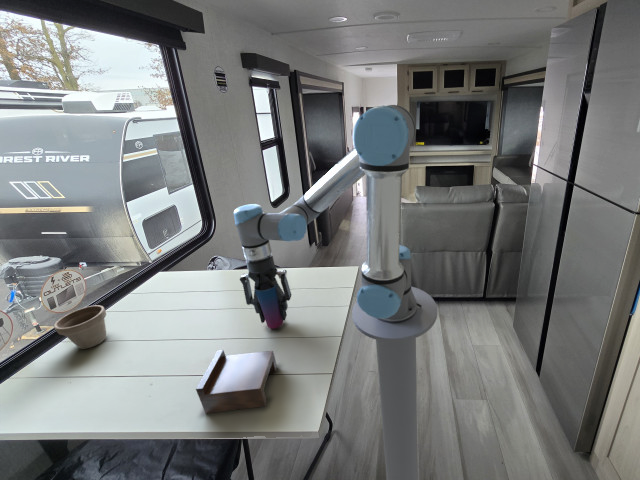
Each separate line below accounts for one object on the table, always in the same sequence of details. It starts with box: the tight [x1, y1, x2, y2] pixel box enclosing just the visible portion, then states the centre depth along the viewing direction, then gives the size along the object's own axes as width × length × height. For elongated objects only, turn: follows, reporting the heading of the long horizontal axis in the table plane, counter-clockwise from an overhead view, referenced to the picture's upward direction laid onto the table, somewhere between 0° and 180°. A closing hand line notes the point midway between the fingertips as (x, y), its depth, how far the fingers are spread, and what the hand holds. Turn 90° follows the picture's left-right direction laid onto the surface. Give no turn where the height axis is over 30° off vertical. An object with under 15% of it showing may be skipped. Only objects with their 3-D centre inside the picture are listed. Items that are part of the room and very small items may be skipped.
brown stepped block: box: [195, 349, 278, 414], centre depth 78 cm, size 14×12×8 cm
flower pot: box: [53, 304, 107, 350], centre depth 96 cm, size 12×11×10 cm
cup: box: [253, 282, 284, 330], centre depth 98 cm, size 7×7×15 cm
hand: (274, 318), depth 101 cm, fingers closed on cup, 6 cm apart
